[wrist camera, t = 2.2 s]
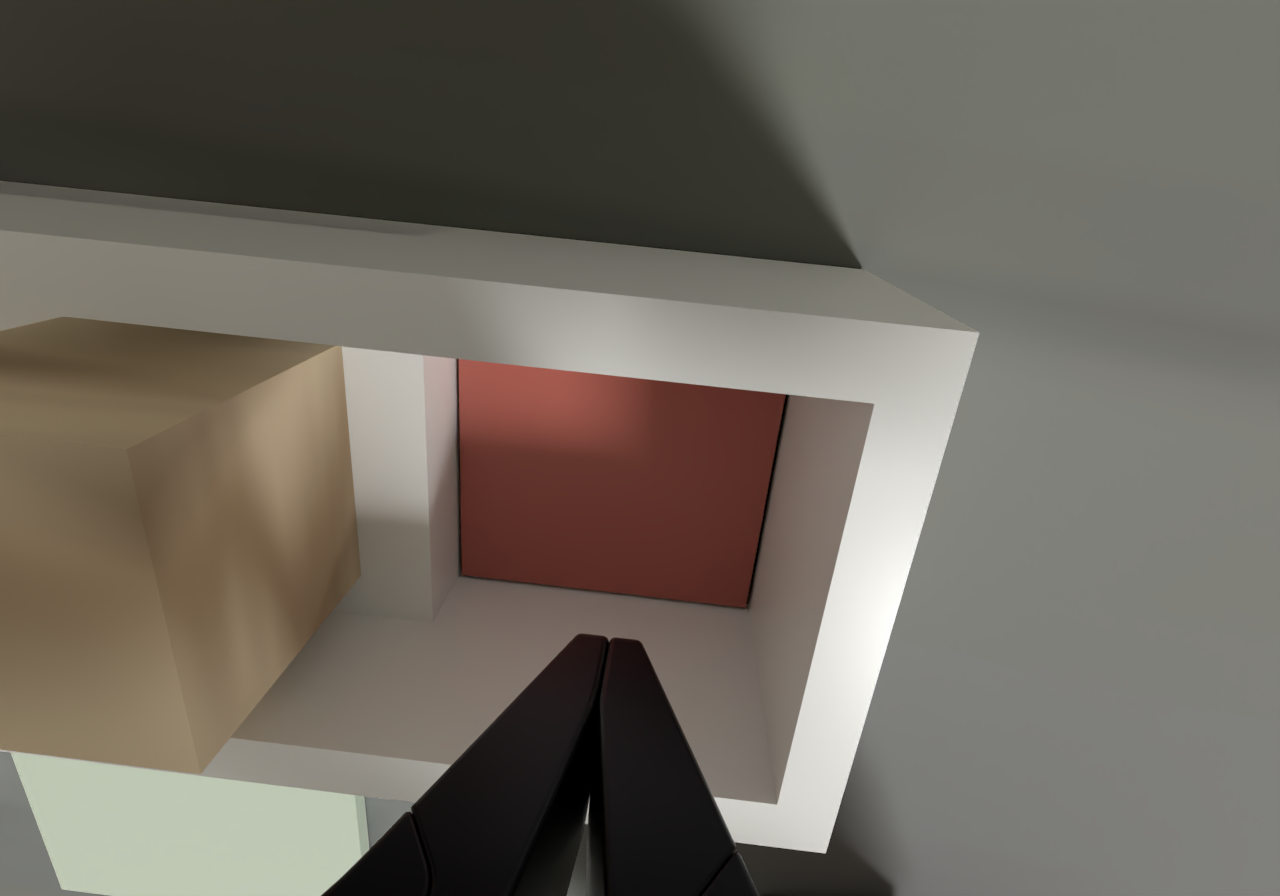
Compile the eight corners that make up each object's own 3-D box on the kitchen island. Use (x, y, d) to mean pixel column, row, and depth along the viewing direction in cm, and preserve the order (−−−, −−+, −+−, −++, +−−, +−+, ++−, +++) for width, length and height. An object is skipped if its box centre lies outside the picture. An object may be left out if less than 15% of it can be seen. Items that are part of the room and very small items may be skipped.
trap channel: (782, 642, 16) (825, 854, 11) (-270, 519, 17) (-676, 667, 12) (863, 269, 13) (979, 332, 8) (-465, 132, 13) (-1158, 108, 8)
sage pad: (375, 912, 21) (368, 929, 21) (75, 874, 22) (61, 889, 21) (351, 669, 18) (342, 682, 17) (-14, 625, 18) (-33, 637, 17)
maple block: (361, 575, 14) (200, 775, 9) (129, 548, 14) (-143, 732, 9) (341, 343, 12) (125, 448, 7) (72, 314, 12) (-302, 401, 8)
